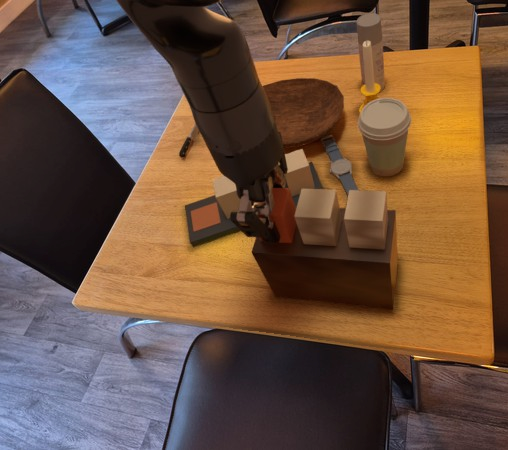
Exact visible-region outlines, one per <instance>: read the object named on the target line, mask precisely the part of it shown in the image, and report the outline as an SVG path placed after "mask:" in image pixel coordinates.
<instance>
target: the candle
mask: <svg viewBox="0 0 508 450" xmlns="http://www.w3.org/2000/svg"><path fill="white" fill-rule="evenodd" d="M363 60H364V72H365V85H363V86H361V87H360V89H359V90H360V94H361V95H363V96H364V99H363V103H362V104H361V105H360V106H359V108H358V111H359V112H358V113H359V114H360V113H361V110H362V109H363V107H364V106H365V105H366V104H368V103H369V102H371V101H373V100H376V99H380V98H379V97H378V94H379V93H380V92H379V91H380V90H381V87H380V85H379V84H377V83H374V71H373V59H372V48H371V42H370V41H367V40H366V41H365V42H364V43H363Z"/></svg>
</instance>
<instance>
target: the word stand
mask: <svg viewBox="0 0 508 450" xmlns="http://www.w3.org/2000/svg"><path fill="white" fill-rule="evenodd" d="M346 200H347V201H346V206H345V207H341V206H340V202H339V198H338V193H337V190H336V189H330V188H329V189H325V188H323V189H301V193H300V197H299V201H298V204H297V206H295V208H296V212H295V216H294V217H295V220H296V223H297V225H296V228H295V232H294V236H293V240H292V243H280V242H278V243H264V242H263V241H260V239H259V237H255V240H254V243H253V246H252V250H251V251H250V252H251V254H252V256H253V259H254V260H255V262H256V264H257V266H258V267H259V269H260V272H261V273H262V275H263V277H264V279H265V280H266V282H267V284H268V286H269V288H270V291H271V292H272V294H273V296H274V297H275V298H281V299H291V300H301V301H307V302H308V301H310V302H320V303H328V304H329V303H330V304H339V305H348V306H357V307H366V308H367V307H368V308H375V309H377V308H378V309H386V310H394V307H395V306H394V305H395V297H396V296H395V295H396V285H397V273H398V263H399V255H398V234H397V232H398V231H397V230H398V229H397V210H394V209H388V197H387V191H386V190H361V189H358V190H349V194H348V195H347V199H346Z"/></svg>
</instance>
